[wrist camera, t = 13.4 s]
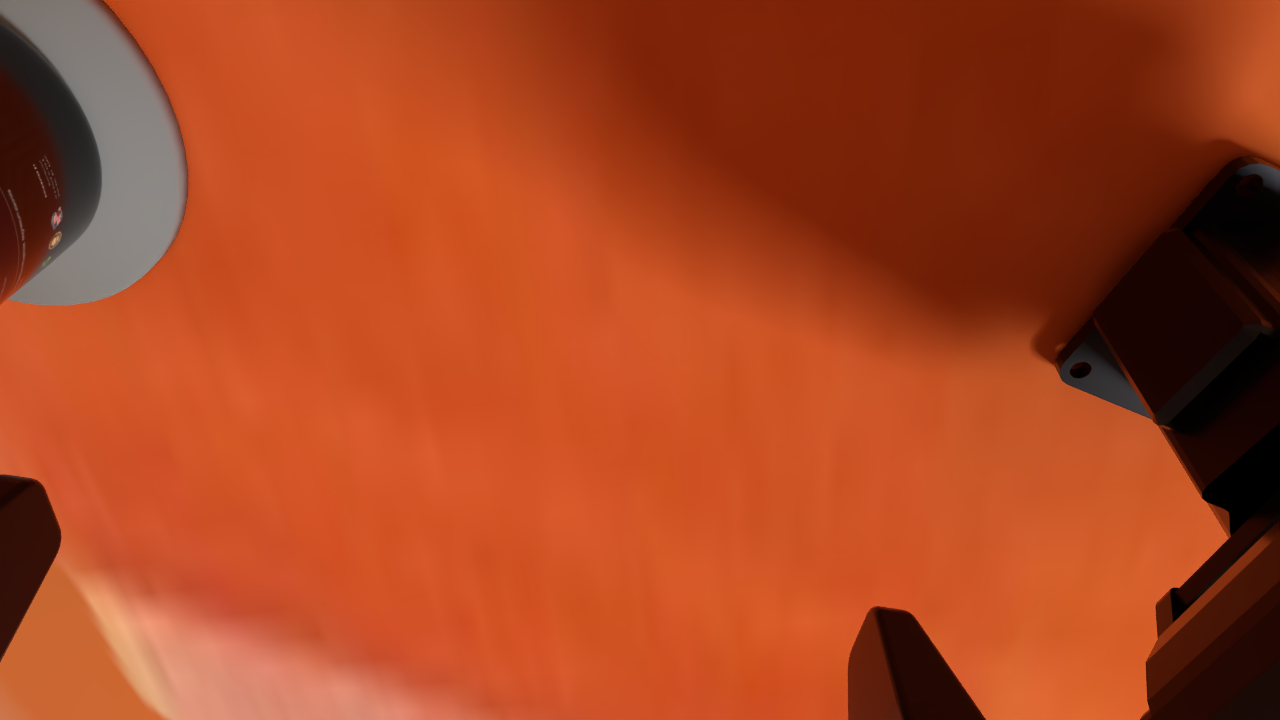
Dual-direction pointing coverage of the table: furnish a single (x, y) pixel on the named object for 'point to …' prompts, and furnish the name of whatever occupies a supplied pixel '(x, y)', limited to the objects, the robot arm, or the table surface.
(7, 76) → the supplement bottle
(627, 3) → the table surface
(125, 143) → the coaster
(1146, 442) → the table surface
